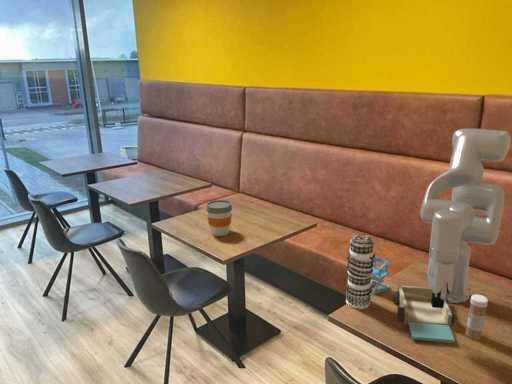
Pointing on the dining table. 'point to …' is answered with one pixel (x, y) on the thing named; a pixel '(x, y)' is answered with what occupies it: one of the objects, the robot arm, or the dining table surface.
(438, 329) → the tailgate
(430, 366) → the dining table surface
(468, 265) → the robot arm
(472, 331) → the sprinkles bottle
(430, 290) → the cargo bed
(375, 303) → the dining table surface
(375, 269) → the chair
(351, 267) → the black white patterned cylinder
